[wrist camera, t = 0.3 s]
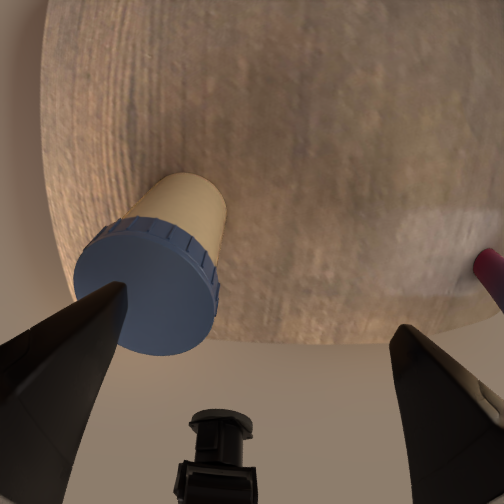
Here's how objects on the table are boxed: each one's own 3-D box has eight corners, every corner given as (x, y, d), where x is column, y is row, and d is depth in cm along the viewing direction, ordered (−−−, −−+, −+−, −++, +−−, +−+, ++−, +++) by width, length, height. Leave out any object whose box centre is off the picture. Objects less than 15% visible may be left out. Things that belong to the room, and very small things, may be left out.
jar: (240, 233, 22) (232, 329, 14) (169, 260, 24) (130, 354, 15) (204, 158, 20) (164, 213, 11) (131, 193, 21) (60, 264, 12)
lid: (243, 312, 15) (241, 339, 13) (136, 341, 16) (127, 365, 15) (176, 189, 12) (164, 206, 10) (66, 246, 13) (47, 266, 11)
